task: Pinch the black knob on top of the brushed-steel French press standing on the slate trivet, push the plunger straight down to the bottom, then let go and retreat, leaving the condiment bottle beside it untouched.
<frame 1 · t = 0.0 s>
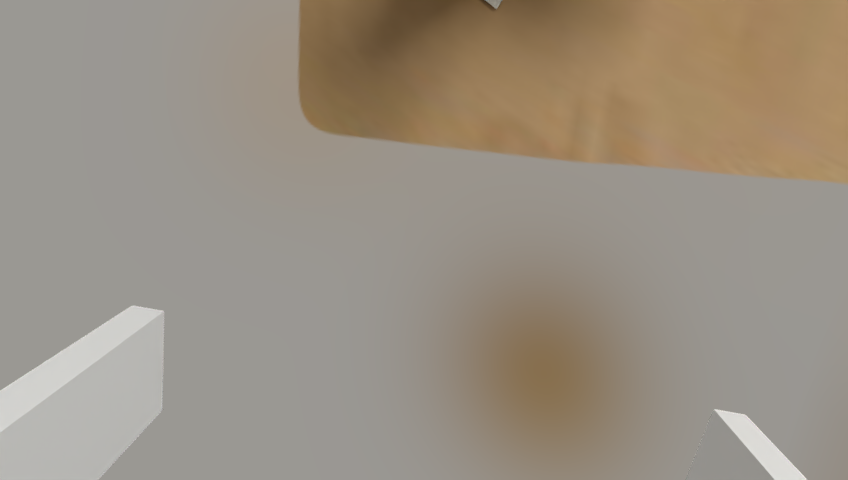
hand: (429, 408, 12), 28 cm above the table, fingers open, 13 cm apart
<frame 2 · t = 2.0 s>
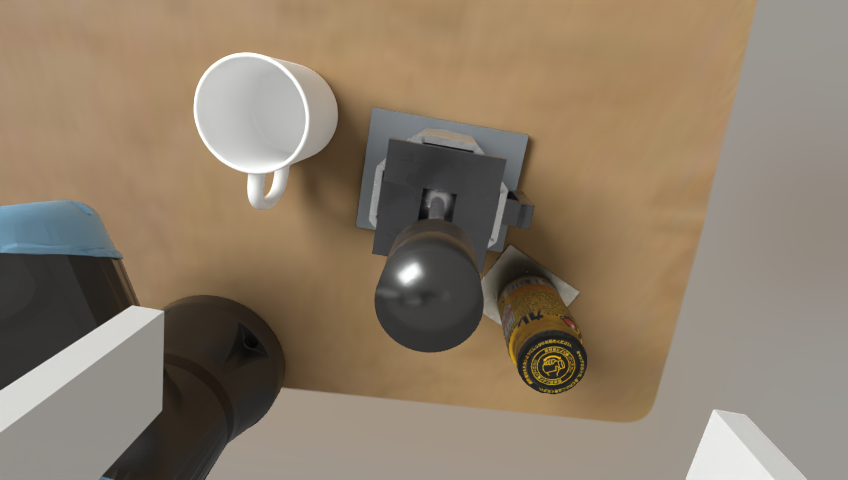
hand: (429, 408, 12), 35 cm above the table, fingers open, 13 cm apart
plunger: (434, 235, 27), point 19 cm above the table, slide at 0.0 cm
trivet: (439, 181, 45), on the table
carafe: (439, 182, 44), resting on trivet
cup: (293, 132, 45), on the table
condiment: (521, 295, 48), on the table
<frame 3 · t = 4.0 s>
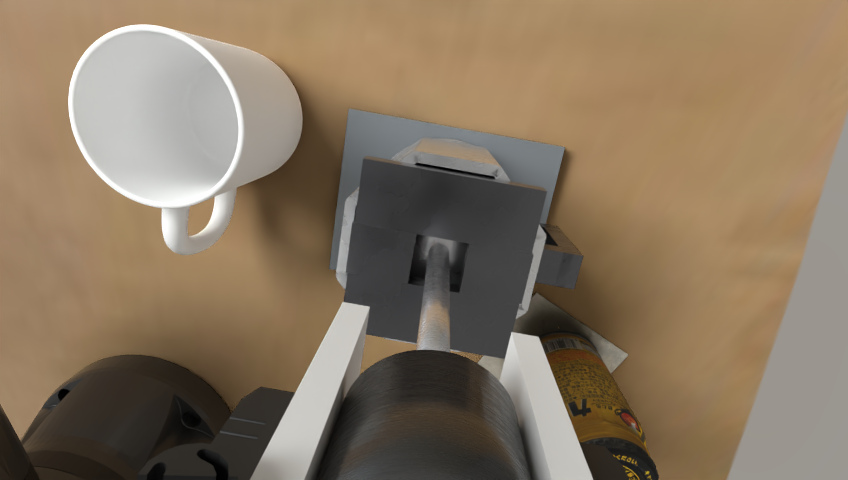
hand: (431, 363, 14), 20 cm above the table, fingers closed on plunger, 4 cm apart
plunger: (433, 336, 15), point 19 cm above the table, slide at 0.0 cm, touching gripper
trivet: (441, 208, 33), on the table
carafe: (441, 211, 32), resting on trivet
cup: (243, 142, 33), on the table
condiment: (549, 357, 36), on the table
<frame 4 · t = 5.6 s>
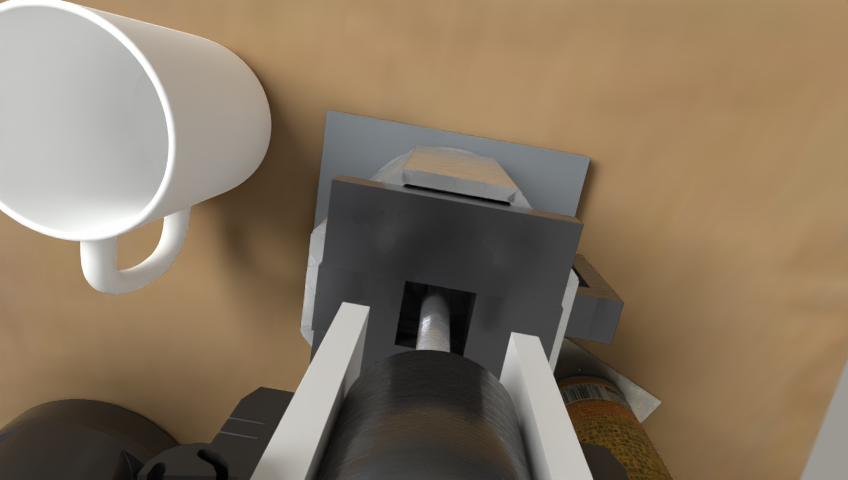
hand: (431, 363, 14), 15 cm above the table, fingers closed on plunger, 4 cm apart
plunger: (433, 336, 15), point 13 cm above the table, slide at 5.8 cm, touching gripper
trivet: (440, 230, 28), on the table
carafe: (439, 233, 27), resting on trivet
cup: (202, 151, 27), on the table
condiment: (568, 403, 31), on the table
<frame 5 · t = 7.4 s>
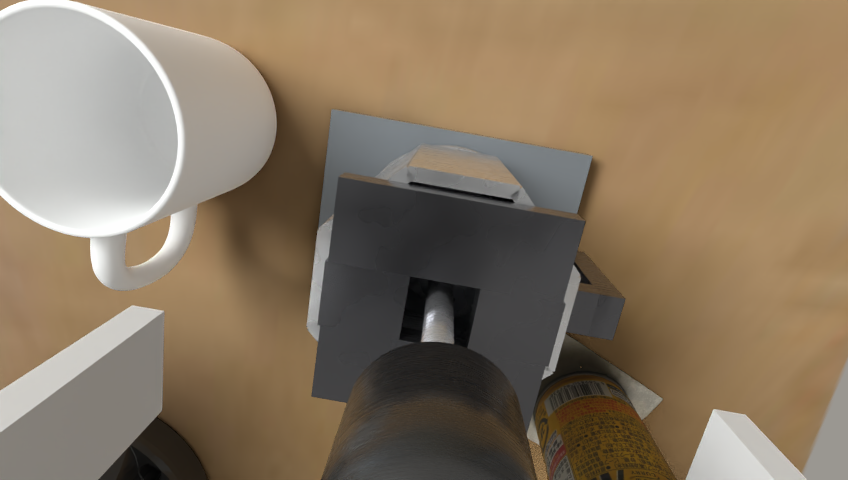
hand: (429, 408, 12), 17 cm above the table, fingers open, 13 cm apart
plunger: (438, 331, 15), point 13 cm above the table, slide at 5.8 cm
trivet: (443, 227, 28), on the table
carafe: (443, 231, 27), resting on trivet
cup: (208, 150, 28), on the table
condiment: (570, 400, 31), on the table
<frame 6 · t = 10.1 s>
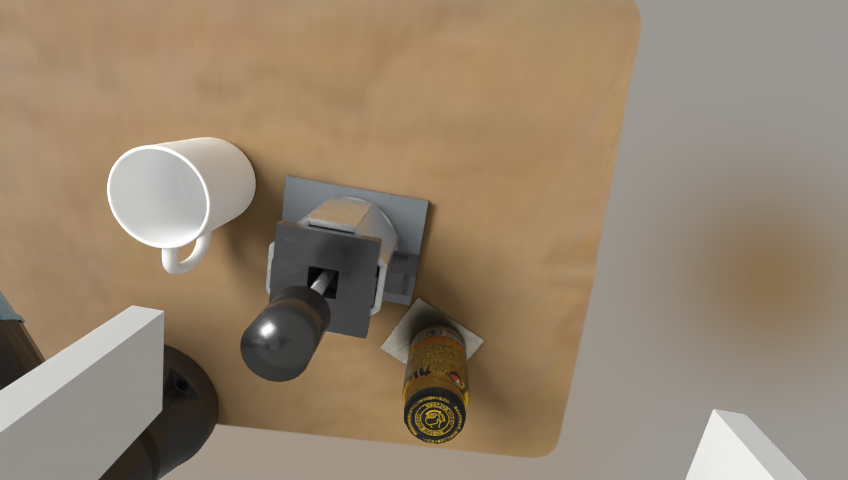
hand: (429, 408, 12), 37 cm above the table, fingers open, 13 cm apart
plunger: (318, 288, 37), point 13 cm above the table, slide at 5.8 cm
trivet: (351, 240, 49), on the table
carafe: (349, 243, 48), resting on trivet
cup: (217, 196, 49), on the table
condiment: (431, 342, 52), on the table
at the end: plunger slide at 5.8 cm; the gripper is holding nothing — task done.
